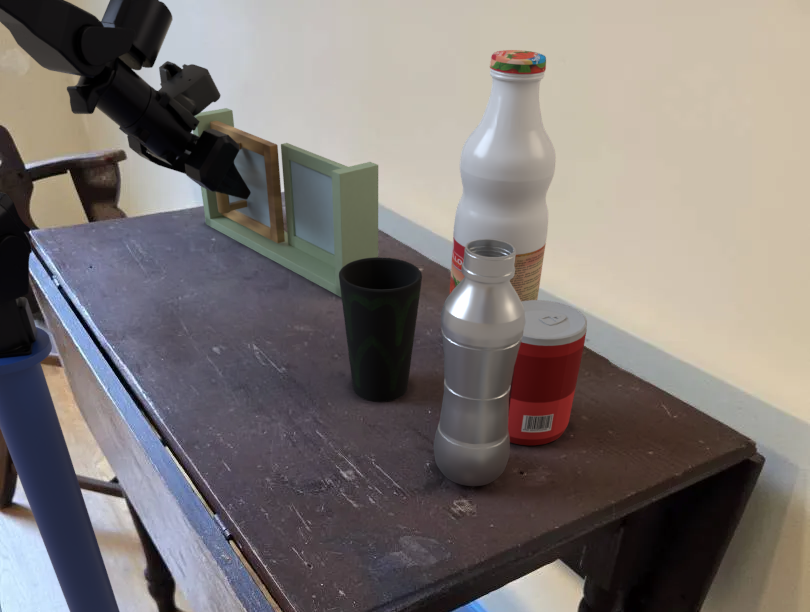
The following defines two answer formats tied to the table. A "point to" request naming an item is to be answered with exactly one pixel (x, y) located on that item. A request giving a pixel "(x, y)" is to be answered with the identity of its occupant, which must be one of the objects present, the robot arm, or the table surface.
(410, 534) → the table surface
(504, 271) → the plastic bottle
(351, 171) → the window frame
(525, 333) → the canned food
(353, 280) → the cup
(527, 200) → the fruit juice
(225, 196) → the sash
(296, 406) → the table surface
